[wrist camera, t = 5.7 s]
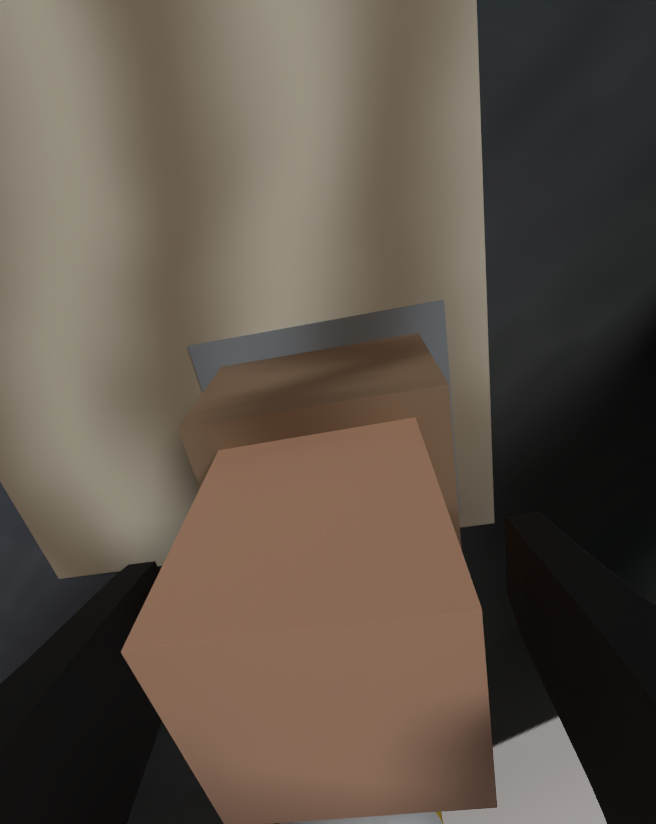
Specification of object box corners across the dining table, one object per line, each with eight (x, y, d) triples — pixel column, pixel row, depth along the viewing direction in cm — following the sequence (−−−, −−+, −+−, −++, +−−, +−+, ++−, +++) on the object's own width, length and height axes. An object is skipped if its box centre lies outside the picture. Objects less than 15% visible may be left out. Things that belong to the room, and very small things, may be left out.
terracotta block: (415, 417, 10) (481, 608, 5) (435, 569, 12) (497, 807, 7) (218, 450, 10) (121, 651, 6) (268, 591, 12) (225, 827, 8)
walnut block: (418, 332, 13) (448, 384, 9) (435, 498, 15) (464, 590, 12) (220, 367, 14) (177, 428, 10) (268, 521, 16) (247, 614, 12)
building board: (461, -122, 10) (472, -153, 9) (487, 509, 17) (495, 524, 16) (-219, 64, 11) (-263, 54, 10) (70, 563, 18) (57, 580, 18)
